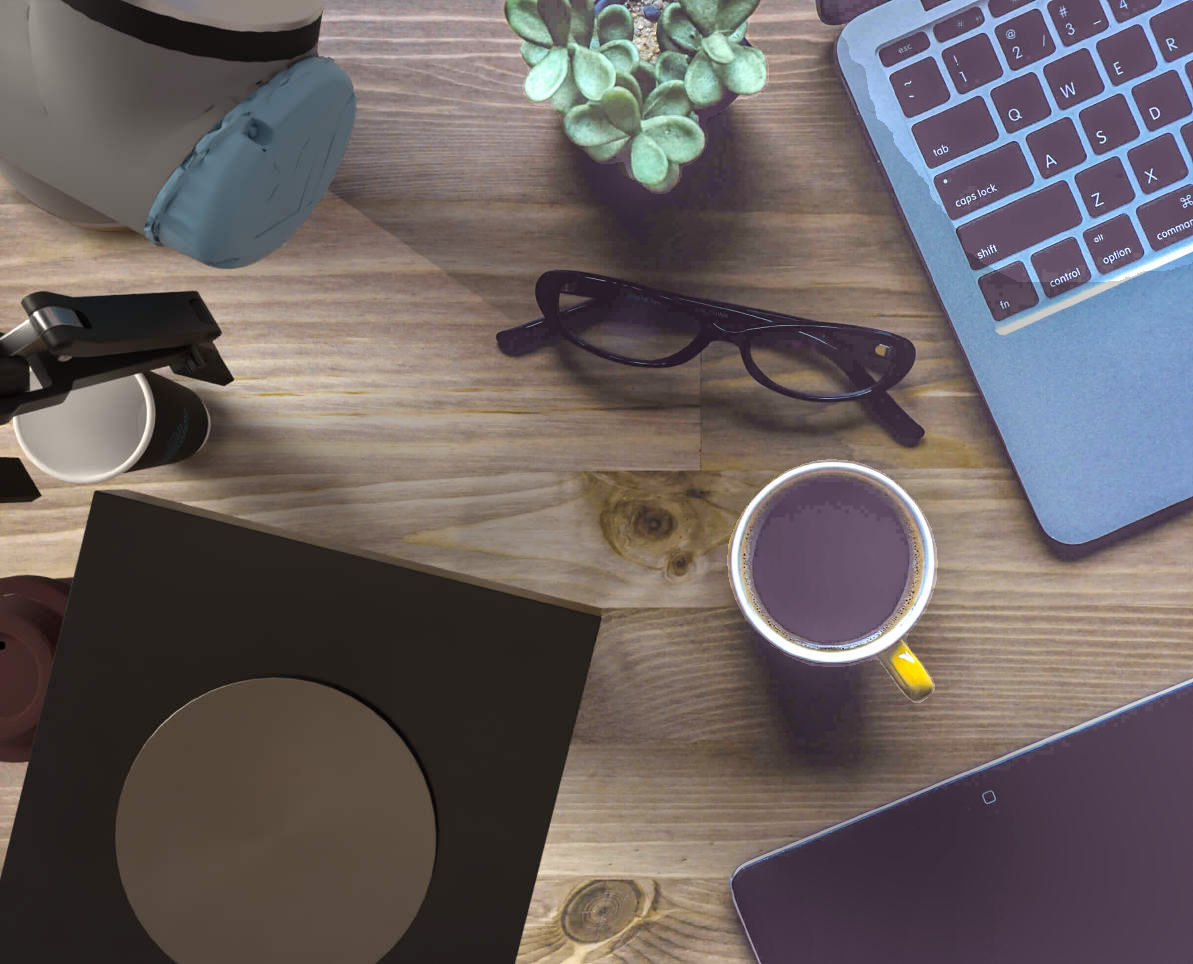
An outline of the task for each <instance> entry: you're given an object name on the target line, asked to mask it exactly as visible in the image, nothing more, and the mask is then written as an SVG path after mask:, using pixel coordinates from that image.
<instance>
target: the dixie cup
mask: <svg viewBox="0 0 1193 964" xmlns="http://www.w3.org/2000/svg"><path fill="white" fill-rule="evenodd" d="M42 388H43V387H42V386H41V384H40V382H39V381H38V379H37V377H36V376H35V374H34V372H33V371H32V369H31V367H30V391H33V390H37V389H42ZM12 425H13V430H14V434H15V435H16V439H17V441H18V444H19V446H20V447H21V449H22V451H23V452H24V454H25V456H26V457H27V458H28V459H29V460H30V461H31V463H32V464H33V465H34V466H36V467H37V468H38V469H39V470H41V471H42V472H43V473H45V474H46V475H47V476H50V477H52V478H53V479H55V480H58V481H60V482H64V483H68V484H73V485H96V484H100V483H104V482H108V481H111V480H113V479H115V478H118V477H119V476H121V475H123V474H129V473H135V472H139V471H143V470H148V469H149V470H150V469H153V468H157V467H162V466H168V465H173V464H177V463H181V462H183V461H186V460H188V459H190V458H191V457H192V456H194V455H195V454H196V453H197V452H199V451H200V450H201V449H202V448H203V447H204V445H205V444H206V443H207V441H208V439H209V436H210V432H211V427H212V426H211V415H210V412H209V410H208V407H207V406H206V404H205V402H204V401H202V400H201V398H200V397H199V396H198V395H197V393H195V392H194V391H193V390H192V389H190V388H189V387H187V386H185V385H183V384H181V383H178V382H176V381H174V380H172V379H170V378H167V377H166V376H163V375H161V374H159V373H157V372H154V371H153V370H151V371H147V372H143V373H139V374H136V375H132V376H128V377H124V378H120V379H116V380H112V381H108V382H104V383H100V384H96V385H93V386H89V387H85V388H81V389H77V390H73V391H70V393H69V395H68V396H67V398H66V400H65V401H64V402H63V403H61V404H59V405H56V406H52V407H48V408H44V409H41V410H37V411H33V412H29V413H25V414H22V415H18V416H15V417H13V418H12Z"/></svg>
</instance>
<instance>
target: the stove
mask: <svg viewBox="0 0 1193 964" xmlns="http://www.w3.org/2000/svg"><path fill="white" fill-rule="evenodd" d="M72 577H73V581H72V585H71V589H70V593H69V598H68V602H67V606H66V610H65V614H64V618H63V622H62V626H61V630H60V635H59V639H58V643H57V647H56V651H55V655H54V659H53V663H52V667H51V672H50V676H49V680H48V684H47V688H46V692H45V696H44V700H43V704H42V708H41V713H40V717H39V721H38V725H37V729H36V733H35V737H34V741H33V745H32V750H31V754H30V758H29V762H27V766H26V770H25V775H24V778H23V783H22V787H21V791H20V795H19V799H18V803H17V807H16V811H15V816H14V820H13V824H12V828H11V831H10V835H9V840H8V844H7V848H6V852H5V853H6V854H5V856H4V861H3V864H2V870H1V873H0V964H516V962H517V958H518V955H519V949H520V946H521V942H522V939H523V935H524V931H525V927H526V923H527V920H528V919H527V918H528V914H529V912H530V911H529V909H530V907H531V902H532V898H533V895H534V890H535V887H536V886H535V885H536V882H537V879H538V875H539V870H540V867H541V863H542V858H543V855H544V851H545V847H546V843H547V839H548V835H549V831H550V826H551V822H552V819H553V814H554V811H555V808H556V807H555V806H556V803H557V799H558V796H559V790H560V788H561V787H560V786H561V783H562V779H563V775H564V771H565V766H566V762H567V759H568V754H569V750H570V748H571V747H570V746H571V743H572V739H573V735H574V730H575V727H576V723H577V719H578V715H579V711H580V706H581V703H582V699H583V695H584V691H585V687H586V683H587V679H588V675H589V671H590V667H591V663H592V659H593V655H594V651H595V646H596V643H597V640H598V639H597V638H598V636H599V635H598V634H599V631H600V627H601V623H602V619H603V618H602V617H603V612H602V611H603V610H602V609H603V608H601V607H598V606H594V605H590V604H585V603H581V602H578V601H575V600H571V599H567V598H562V597H559V596H553V595H550V594H545V593H543V592H542V593H541V592H538V591H534V590H531V589H525V588H522V587H518V586H514V585H510V584H505V583H502V582H498V581H494V580H491V579H486V578H482V577H478V576H474V575H470V574H465V573H463V572H458V571H454V570H450V569H446V568H442V567H439V566H434V565H430V564H425V563H422V562H419V561H414V560H409V559H405V558H402V557H398V556H394V555H390V554H386V553H382V552H378V551H374V550H370V549H366V548H361V547H358V546H354V545H349V544H345V543H341V542H338V541H335V540H330V539H326V538H322V537H319V536H313V535H310V534H305V533H302V532H298V531H294V530H290V529H286V528H283V527H282V528H281V527H278V526H274V525H270V524H266V523H263V522H259V521H254V520H250V519H247V518H242V517H238V516H234V515H230V514H225V513H221V512H219V511H213V510H210V509H207V508H203V507H198V506H194V505H190V504H186V503H182V502H178V501H174V500H170V499H166V498H162V497H158V496H154V495H150V494H147V493H142V492H137V491H134V490H130V489H125V488H122V489H121V488H120V489H119V488H118V489H98V490H97V489H96V490H94V491H93V495H92V499H91V503H90V507H89V512H88V516H87V520H86V524H85V529H84V532H83V537H82V541H81V544H80V548H79V553H78V557H77V561H76V565H75V569H74V573H73V576H72Z"/></svg>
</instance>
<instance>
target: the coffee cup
mask: <svg viewBox="0 0 1193 964" xmlns="http://www.w3.org/2000/svg"><path fill="white" fill-rule="evenodd" d="M73 577H74V576H70V577H67V576H66V577H57V578H52V577H49V576H45V575H44V576H43V575H37V574H17V575H10V576H5V577H0V762H1V763H10V764H17V763H19V764H20V763H28V762H29V758H30V754H31V750H32V745H33V741H34V737H35V733H36V729H37V725H38V721H39V717H40V713H41V708H42V704H43V700H44V696H45V692H46V688H47V684H48V680H49V676H50V672H51V667H52V663H53V659H54V655H55V651H56V647H57V643H58V639H59V635H60V630H61V626H62V622H63V618H64V614H65V610H66V606H67V602H68V598H69V593H70V589H71V585H72V581H73Z"/></svg>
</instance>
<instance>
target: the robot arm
mask: <svg viewBox="0 0 1193 964" xmlns="http://www.w3.org/2000/svg"><path fill="white" fill-rule="evenodd" d="M324 4H325V0H0V174H1V175H2V176H3V177H4V178H5V179H6V181H7V182H8V183H9V184H10V185H11V186H12V187H13V188H14V190H16V191H17V193H18V194H20V195H21V196H22V197H23V198H24V199H25V200H27V201H28V202H29V203H30V204H32V205H33V206H35V207H36V208H38V209H40V210H42V211H44V212H45V213H47V214H49V215H51V216H54V217H56V218H58V219H60V220H62V221H65V222H67V223H69V224H70V225H71V224H72V225H75V226H77V227H80V228H84V229H88V230H93V231H101V232H123V231H130V230H132V231H134V232H136V233H138V234H140V235H142V236H143V237H144V238H145V239H146V240H148V242H149V243H150V244H152V245H154V246H156V247H159V248H169V249H172V250H174V251H176V252H178V253H180V254H182V255H185V256H187V257H188V258H190V259H193V260H194V261H197V262H199V263H201V264H203V265H205V266H208V267H211V268H215V269H219V270H235V269H241V268H246V267H248V266H252V265H254V264H256V263H258V262H260V261H261V260H263V259H266V258H267V257H269V256H270V255H271V254H273V253H274V252H275V251H277V250H278V249H279V248H280V247H282V246H284V244H285V243H286V242H288V240H289V239H290V238H291V237H293V236H294V235H295V233H296V232H297V231H298V230H299V229H300V228H301V227H302V226H303V225H304V223H305V222H306V221H307V219H308V218H309V217H310V215H311V214H312V213H313V211H314V209H315V208H316V207H318V205H319V203H320V201H321V200H322V198H323V197H324V195H325V194H326V192H327V190H328V189H329V188H330V186H331V184H332V181H333V180H334V178H335V176H336V174H337V172H338V170H339V168H340V166H341V164H342V161H343V159H344V157H345V154H346V152H347V149H348V146H349V144H350V140H351V137H352V133H353V131H354V127H355V121H356V117H357V116H356V115H357V96H356V93H355V90H354V89H355V87H354V85H353V82H352V79H351V77H350V76H349V75H348V74H347V72H346V71H344V69H342V68H341V67H340V65H339V64H338V63H336V62H335V58H332V57H329V56H328V57H327V56H324V55H321V56H320V55H319V52H318V47H319V40H320V32H321V26H322V25H321V24H322V19H323V13H324V6H325V5H324ZM20 305H21V306H22V308H23V309H24V311H25V313H26V315H27V317H28V318H27V319H25V320H24V321H22V322H21V323H19V324H18V325H16V326H15V327H13V328H12V329H11V330H9V331H8V332H6V333H5V332H3V331H0V426H4V425H7V424H9V423H11V421H13V417H15V416H18V415H22V414H25V413H29V412H33V411H37V410H41V409H44V408H48V407H52V406H56V405H59V404H61V403H63V402H64V401H65V400H66V398H67V396H68V395H69V393H70V391H73V390H77V389H81V388H85V387H89V386H93V385H96V384H100V383H104V382H108V381H112V380H116V379H120V378H124V377H128V376H132V375H136V374H139V373H143V372H147V371H155V370H159V369H162V368H163V369H164V368H167V367H169V368H170V371H171V373H173V375H177V376H181V377H184V378H185V377H186V378H189V379H193V380H197V381H200V382H205V383H209V384H212V385H217V386H220V387H226V386H228V385H229V384H232V383H233V382H234V381H236V379H235V377H234V376H233V374H232V372H231V371H230V369H229V368H228V366H227V364H226V363H225V361H224V360H223V358H222V355H221V354H220V352H219V350H218V348H217V346H216V345H215V343H214V341H216V340H217V339H218V338H219V337H221V335H223V331H222V329H221V327H220V326H219V323H217V320H216V318H214V316H213V314H212V313H211V311H210V309H209V308H208V306H207V304H206V303H205V301H204V299H203V297H202V295H201V294H200V293H199V291H197V290H183V291H161V292H144V293H143V292H142V293H141V292H140V293H125V294H123V293H122V294H121V293H120V294H103V295H83V296H70V295H66V294H61V293H57V292H52V291H47V290H40V291H35V292H32V293H29V294H28V295H26V296H24V297H23V298H22V299H21V301H20ZM30 367H31V369H32V371H33V372H34V374H35V376H36V377H37V379H38V381H39V382H40V384H41V386H42V387H43V388H42V389H37V390H33V391H30ZM42 496H43V495H42V493H41V491H40V490H39V488H38V487H37V484H36V483H35V482H34V480H33V478H32V476H31V475H30V473H29V471H28V470H27V468H26V467H25V465H24V463H23V462H22V460H21V458H20V457H18V456H17V457H15V456H14V457H13V456H0V504H21V503H22V504H23V503H33V502H35V501H36V500H38V499H40V498H41V497H42Z"/></svg>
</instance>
